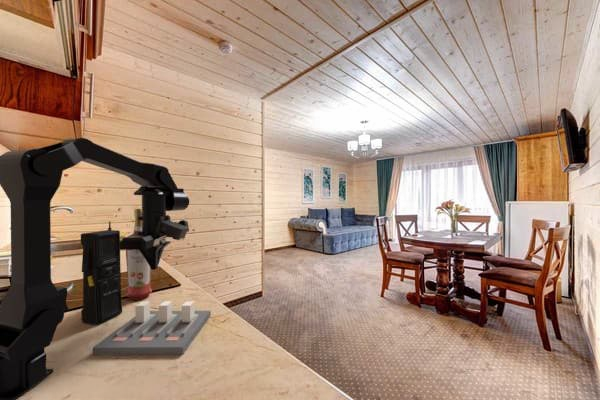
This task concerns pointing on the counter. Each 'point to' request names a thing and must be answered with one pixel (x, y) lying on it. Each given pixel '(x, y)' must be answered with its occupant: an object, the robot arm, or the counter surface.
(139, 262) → the liquor
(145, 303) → the block
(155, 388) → the counter surface
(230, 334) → the counter surface
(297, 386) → the counter surface
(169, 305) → the breaker middle
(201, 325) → the panel
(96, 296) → the portable radio
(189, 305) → the block
